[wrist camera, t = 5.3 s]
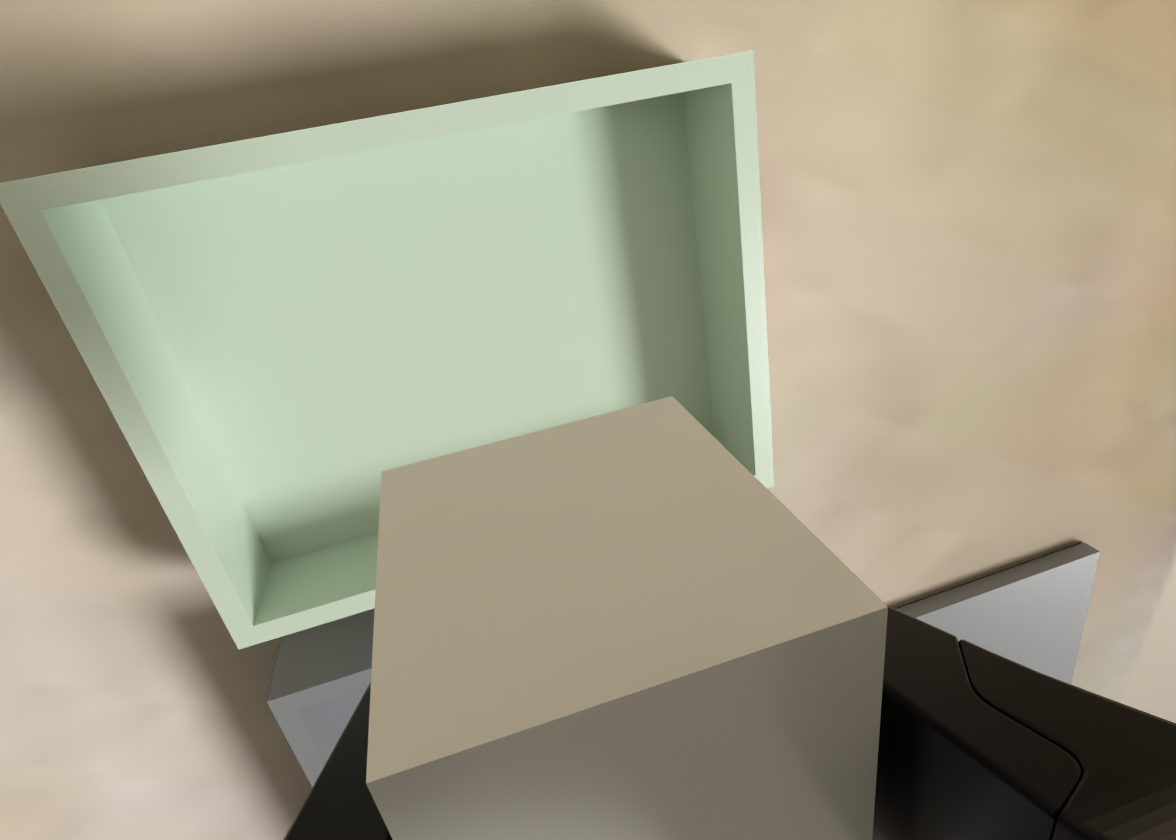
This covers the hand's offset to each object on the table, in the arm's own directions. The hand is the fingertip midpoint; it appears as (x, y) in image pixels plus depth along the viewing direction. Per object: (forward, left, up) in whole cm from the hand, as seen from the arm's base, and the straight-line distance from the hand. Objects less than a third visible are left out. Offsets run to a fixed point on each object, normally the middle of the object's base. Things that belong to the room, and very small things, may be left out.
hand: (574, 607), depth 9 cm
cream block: (0, 0, -1) cm, 1 cm away
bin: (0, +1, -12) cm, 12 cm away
